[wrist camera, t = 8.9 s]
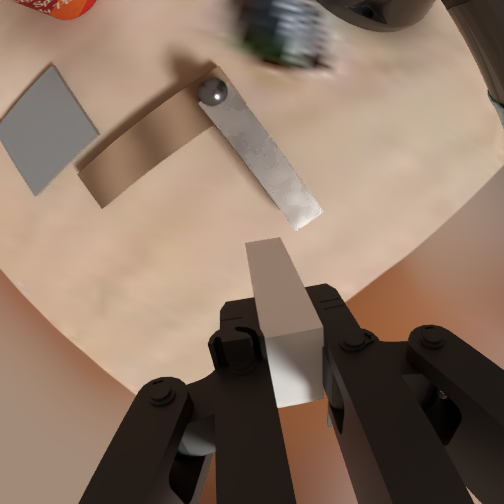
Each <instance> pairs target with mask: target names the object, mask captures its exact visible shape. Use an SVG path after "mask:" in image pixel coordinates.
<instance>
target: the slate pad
mask: <svg viewBox="0 0 504 504" xmlns="http://www.w3.org/2000/svg"><path fill="white" fill-rule="evenodd" d="M99 135H100V133H99V132H98V130H97V129H96V127H95V126H94V124H93V123H92V121H91V120H90V118H89V117H88V115H87V114H86V112H85V111H84V109H83V108H82V106H81V105H80V103H79V102H78V100H77V99H76V97H75V96H74V94H73V93H72V91H71V90H70V88H69V87H68V85H67V84H66V82H65V81H64V79H63V77H62V76H61V74H60V73H59V71H58V70H57V68H56V67H55V66H53V65H52V66H51V67H50V68H49V69H48V70H47V71H46V72H45V73H44V74H43V75H42V76H41V77H40V78H39V79H38V80H37V81H36V82H35V83H34V84H33V85H32V86H31V87H30V88H29V90H28V91H27V92H26V93H25V94H24V95H23V96H22V97H21V99H20V100H19V101H18V102H17V103H16V104H15V106H14V107H13V108H12V109H11V110H10V112H9V113H8V114H7V115H6V117H5V118H4V119H3V120H2V122H1V123H0V140H1V142H2V144H3V146H4V147H5V149H6V151H7V152H8V154H9V156H10V158H11V159H12V161H13V163H14V164H15V166H16V167H17V169H18V171H19V172H20V174H21V175H22V177H23V179H24V180H25V182H26V183H27V185H28V186H29V188H30V189H31V191H32V192H33V194H34V195H35V196H38V195H39V194H40V193H41V192H42V191H43V190H44V189H45V188H46V187H47V186H48V184H49V183H50V182H51V181H52V180H53V179H54V178H55V177H56V176H57V175H58V174H59V173H60V172H61V171H62V170H63V169H64V168H65V167H66V166H67V165H68V164H69V163H70V162H71V161H72V160H73V159H74V158H75V157H76V156H77V155H78V154H79V153H80V152H81V151H83V150H84V149H85V148H86V147H87V146H88V145H89V144H90V143H91V142H92V141H93V140H94V139H96V138H97V137H98V136H99Z"/></svg>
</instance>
